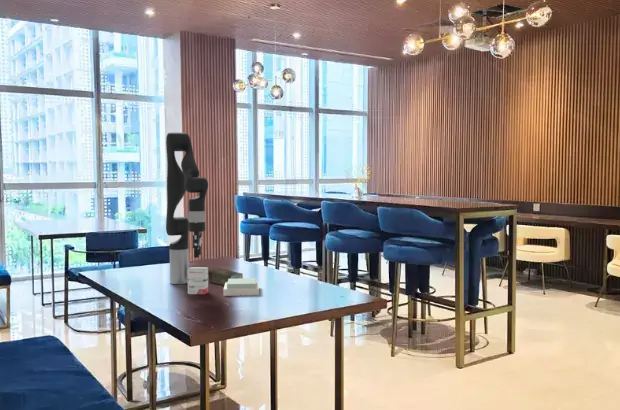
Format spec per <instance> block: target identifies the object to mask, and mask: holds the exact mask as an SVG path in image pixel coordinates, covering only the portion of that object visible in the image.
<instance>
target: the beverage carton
mask: <svg viewBox="0 0 620 410" xmlns="http://www.w3.org/2000/svg"><path fill="white" fill-rule="evenodd" d="M243 276H244V275H243V273H241V272H239V271H237V272H236V271H233V270H229V269H224V268H216V269H208V283H213V284H216V285H217V284H218V285H221V286H225V282H228V279H242V278H244V277H243Z"/></svg>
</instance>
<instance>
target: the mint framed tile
mask: <svg viewBox="0 0 620 410" xmlns="http://www.w3.org/2000/svg"><path fill="white" fill-rule="evenodd" d="M223 286H224V287H223V295H222V296H223V297H229V296H231V297H233V296H234V297H235V296H236V297H238V296H239V297H240V295H241V296H260V282H259V281H257V278H255V277H253V278H252V277H251V278H249V277H248V278H246V277H245V278H244V277H243V278H242V279H228V282H225V285H223Z"/></svg>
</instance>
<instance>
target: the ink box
mask: <svg viewBox="0 0 620 410" xmlns="http://www.w3.org/2000/svg"><path fill="white" fill-rule="evenodd" d="M208 271H209V267H202V266H201V267H198V266H196V267H194V266H193V267H192V266H191V267H189V268H188V269H187V272H188V283H187V295H206V294H208V293H209V275H208Z"/></svg>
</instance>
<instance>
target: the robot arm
mask: <svg viewBox="0 0 620 410" xmlns="http://www.w3.org/2000/svg"><path fill="white" fill-rule="evenodd" d="M165 146H166V149H165V150H166V160H167V161H166V162H167V163H166V167H167V172H166V173H167V174H166V199H167V201H166V202H167V203H166V219H165V232H166V234H167V236H170V237H171V236H172V237H173V236H180V237H179V238H178V239H177V240H174V241H172V242H170V243H169V283H170V284H171V285H172V284H173V285H183V284H188V272H187V269H188V268H190V267H189V265H190V263H189V233H193V234H192V237H191V238H192V249H193V257H194V258H195V259H197V258H198V259H199V258H200V256H201V254H202V244H203V235H202V232H206V213H205V211H206V209H205V201H206V196H207V192H208V188H209V180H207V178H205V177H200V169H199V168H198V165H197V163H196V160H195V155H194V151H193V146H192V141H191V138H190V135H189V134H188V133H187V132H179V131H178V132H177V131H176V132H175V131H174V132H168V133H167V135H166V138H165ZM176 152H185V154H184V155H183V158H182V160H181V162H180V163H181V164H180V165H179V164H178V162H177V160H176V159H177V158H176V154H175V153H176ZM186 192H187V193H191V194H196V193H197V196H196V197H192V198H190V199H188V217H186V216H175V211H176V209H177V207H178V205H179V204H180V202H181V200H183V198H184V196H185V194H186Z"/></svg>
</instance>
